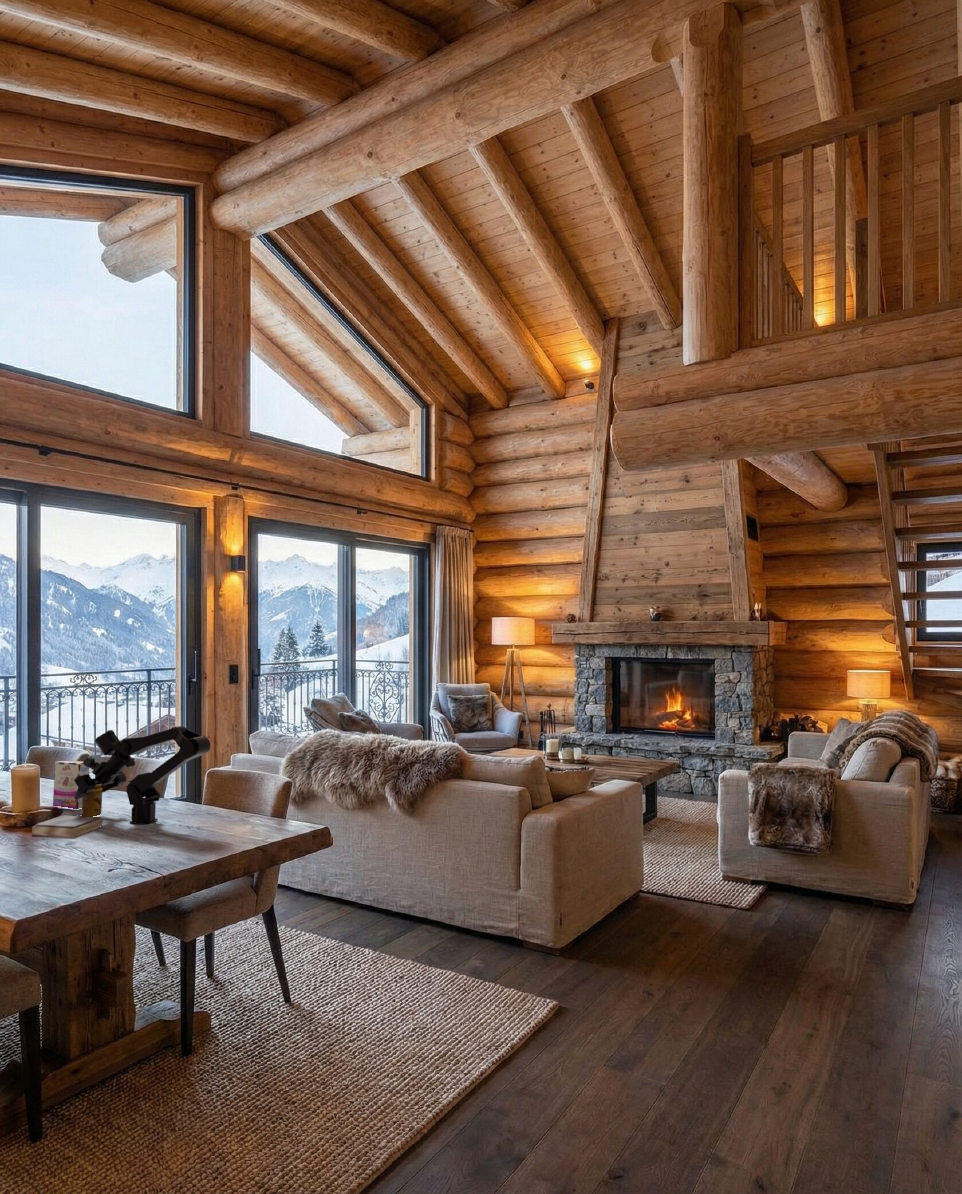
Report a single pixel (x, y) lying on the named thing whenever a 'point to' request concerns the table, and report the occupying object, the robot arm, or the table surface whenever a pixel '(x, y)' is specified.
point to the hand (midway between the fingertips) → (86, 796)
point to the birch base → (67, 826)
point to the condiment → (92, 803)
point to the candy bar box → (67, 783)
